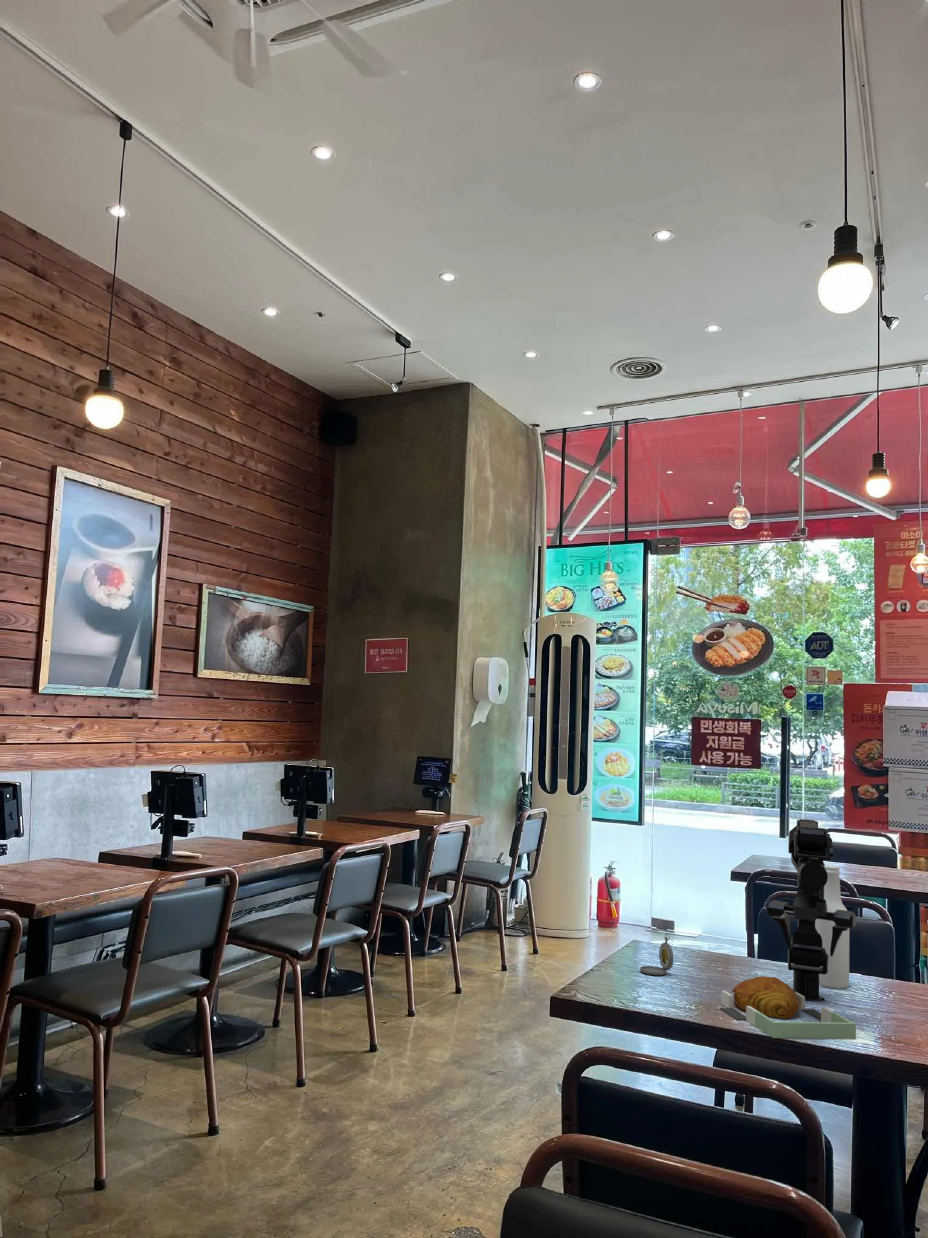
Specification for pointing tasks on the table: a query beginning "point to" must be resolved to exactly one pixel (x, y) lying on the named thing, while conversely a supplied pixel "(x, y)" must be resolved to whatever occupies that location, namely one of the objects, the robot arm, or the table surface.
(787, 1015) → the croissant
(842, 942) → the white bottle
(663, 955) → the pocket watch
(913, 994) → the table surface
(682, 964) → the table surface
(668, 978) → the table surface
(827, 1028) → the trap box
